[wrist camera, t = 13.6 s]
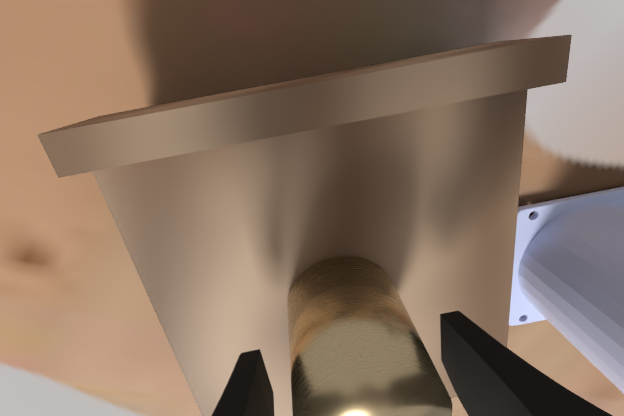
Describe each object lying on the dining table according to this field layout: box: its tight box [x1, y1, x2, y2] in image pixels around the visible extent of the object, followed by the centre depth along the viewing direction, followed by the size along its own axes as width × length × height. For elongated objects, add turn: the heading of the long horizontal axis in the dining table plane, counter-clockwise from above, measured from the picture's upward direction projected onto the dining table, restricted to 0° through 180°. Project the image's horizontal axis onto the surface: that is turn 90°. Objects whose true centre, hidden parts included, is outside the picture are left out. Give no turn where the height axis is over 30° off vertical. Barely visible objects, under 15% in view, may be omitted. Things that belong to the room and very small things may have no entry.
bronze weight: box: [287, 257, 452, 416], centre depth 12 cm, size 4×4×5 cm
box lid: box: [38, 35, 571, 416], centre depth 14 cm, size 14×16×3 cm
